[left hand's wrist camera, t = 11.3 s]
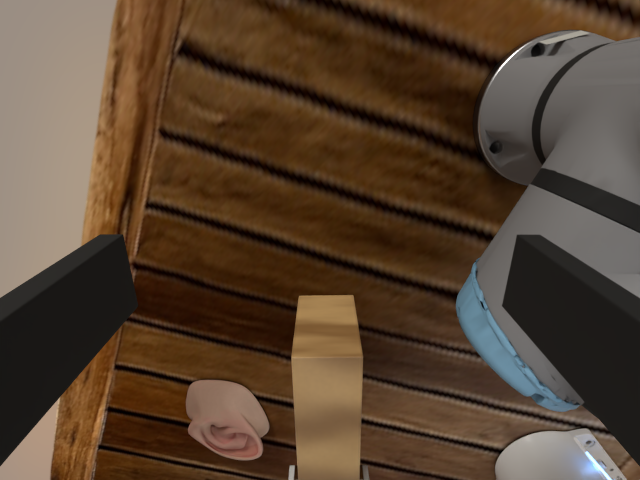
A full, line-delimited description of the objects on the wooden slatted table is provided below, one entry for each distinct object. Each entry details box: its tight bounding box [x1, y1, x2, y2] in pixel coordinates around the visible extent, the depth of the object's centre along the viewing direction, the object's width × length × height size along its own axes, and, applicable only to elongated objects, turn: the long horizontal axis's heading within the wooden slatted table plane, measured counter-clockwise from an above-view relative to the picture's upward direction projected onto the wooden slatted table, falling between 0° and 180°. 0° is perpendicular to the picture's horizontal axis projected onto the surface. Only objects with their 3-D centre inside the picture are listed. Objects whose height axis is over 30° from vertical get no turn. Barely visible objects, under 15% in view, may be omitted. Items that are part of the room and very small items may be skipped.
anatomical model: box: [186, 380, 269, 460], centre depth 53 cm, size 13×4×12 cm
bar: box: [291, 295, 363, 480], centre depth 33 cm, size 22×5×8 cm, turn 1°
